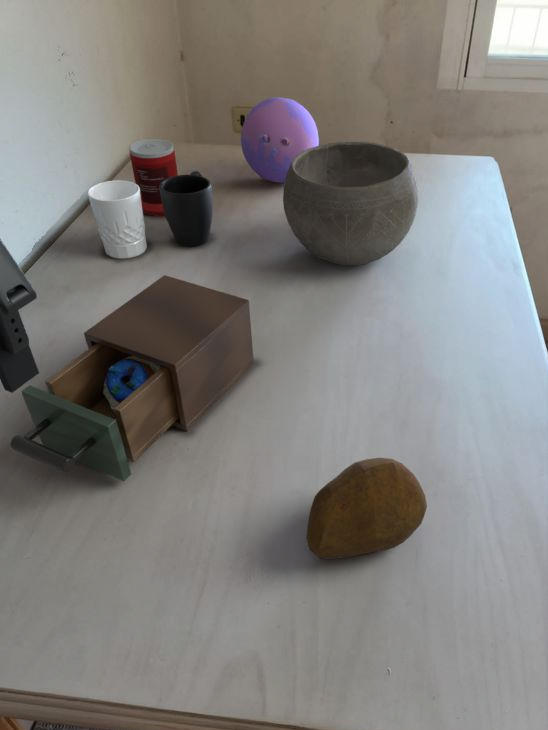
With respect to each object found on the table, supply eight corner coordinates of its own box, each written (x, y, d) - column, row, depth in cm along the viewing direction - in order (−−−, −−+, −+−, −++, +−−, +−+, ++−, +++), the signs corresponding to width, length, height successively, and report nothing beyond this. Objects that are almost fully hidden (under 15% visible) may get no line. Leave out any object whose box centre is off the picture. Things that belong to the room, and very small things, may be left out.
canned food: (168, 195, 121) (159, 135, 113) (190, 209, 116) (182, 147, 109) (132, 205, 117) (120, 144, 109) (153, 220, 112) (142, 157, 105)
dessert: (178, 370, 69) (135, 384, 65) (171, 419, 73) (130, 436, 68) (130, 339, 72) (86, 351, 68) (125, 388, 76) (83, 402, 71)
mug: (227, 221, 113) (222, 167, 106) (209, 252, 104) (203, 196, 97) (182, 217, 113) (174, 164, 107) (161, 248, 105) (152, 192, 98)
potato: (293, 509, 64) (291, 449, 58) (403, 489, 66) (412, 429, 60) (312, 579, 58) (312, 519, 52) (433, 553, 60) (446, 494, 54)
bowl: (266, 270, 100) (261, 175, 90) (310, 216, 114) (310, 129, 104) (394, 293, 95) (404, 196, 85) (423, 234, 109) (434, 145, 99)
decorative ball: (239, 194, 121) (232, 110, 111) (248, 165, 132) (243, 86, 122) (316, 196, 121) (317, 112, 111) (319, 166, 132) (320, 88, 122)
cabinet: (187, 431, 72) (175, 365, 66) (102, 398, 76) (83, 332, 70) (253, 363, 82) (249, 299, 75) (175, 337, 86) (164, 274, 79)
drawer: (93, 512, 62) (73, 457, 57) (10, 473, 66) (-16, 418, 61) (199, 406, 74) (191, 353, 69) (123, 378, 78) (110, 325, 73)
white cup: (110, 265, 100) (96, 204, 94) (95, 245, 105) (80, 186, 98) (157, 253, 104) (147, 193, 97) (140, 234, 108) (129, 176, 102)
